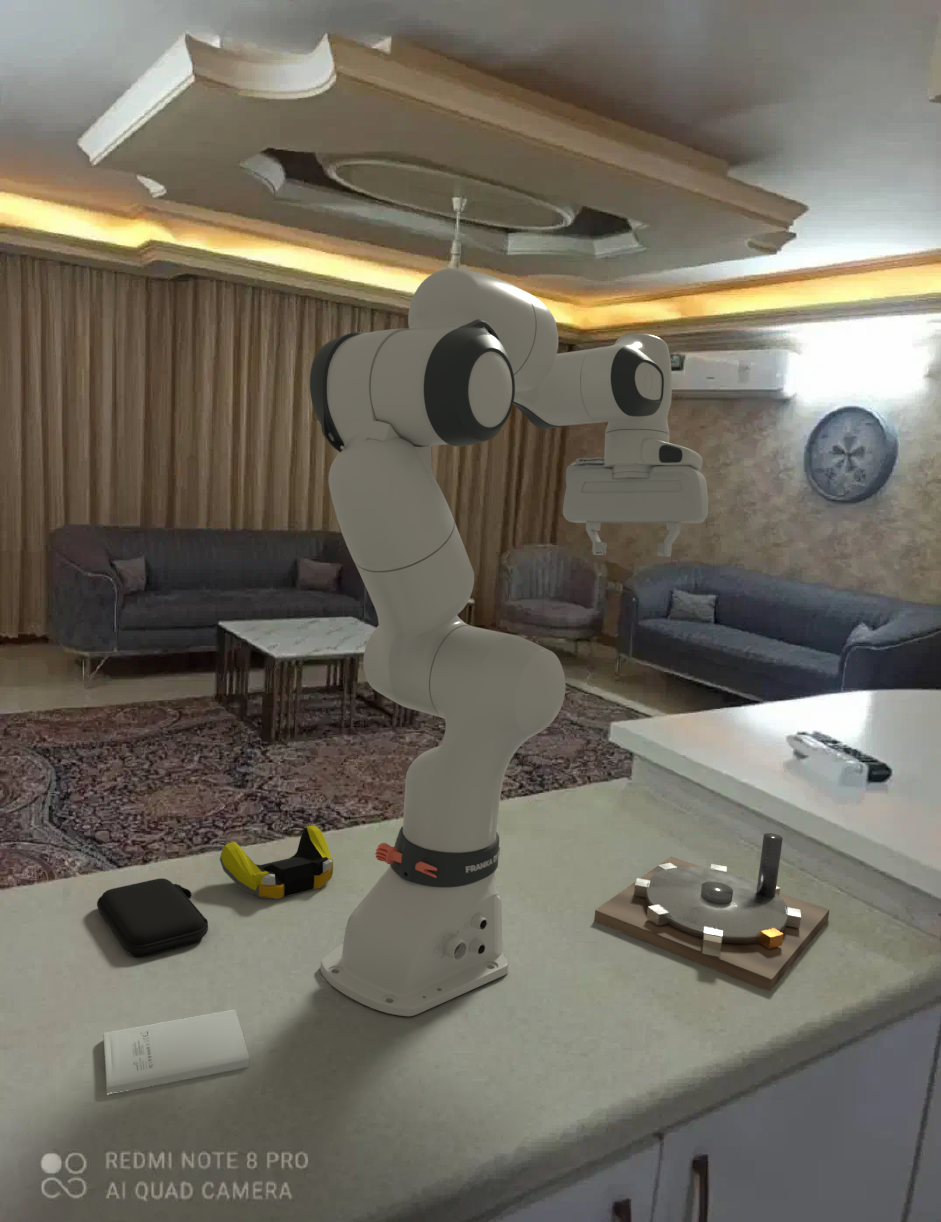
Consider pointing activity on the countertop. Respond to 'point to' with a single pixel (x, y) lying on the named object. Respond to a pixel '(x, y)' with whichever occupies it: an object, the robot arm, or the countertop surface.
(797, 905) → the sprocket base
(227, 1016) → the external hard drive
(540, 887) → the countertop surface
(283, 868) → the gaming controller
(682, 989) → the countertop surface
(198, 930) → the carrying case or bag
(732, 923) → the sprocket
